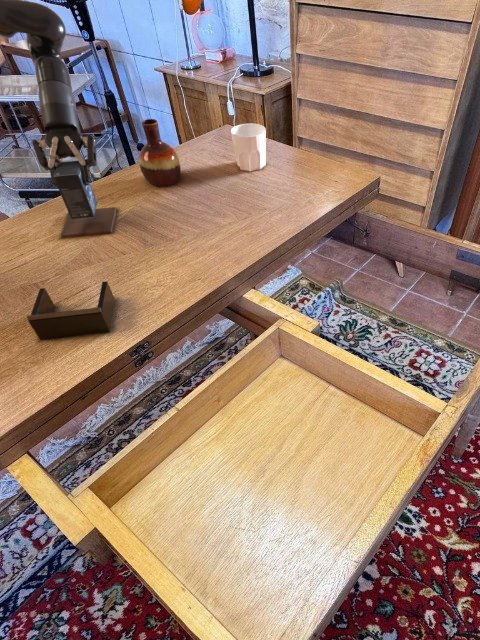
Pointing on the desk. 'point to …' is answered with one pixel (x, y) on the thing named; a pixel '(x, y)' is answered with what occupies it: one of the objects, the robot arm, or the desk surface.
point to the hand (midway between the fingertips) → (72, 185)
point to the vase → (158, 158)
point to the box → (75, 190)
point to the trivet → (90, 224)
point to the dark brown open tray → (71, 317)
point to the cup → (249, 146)
